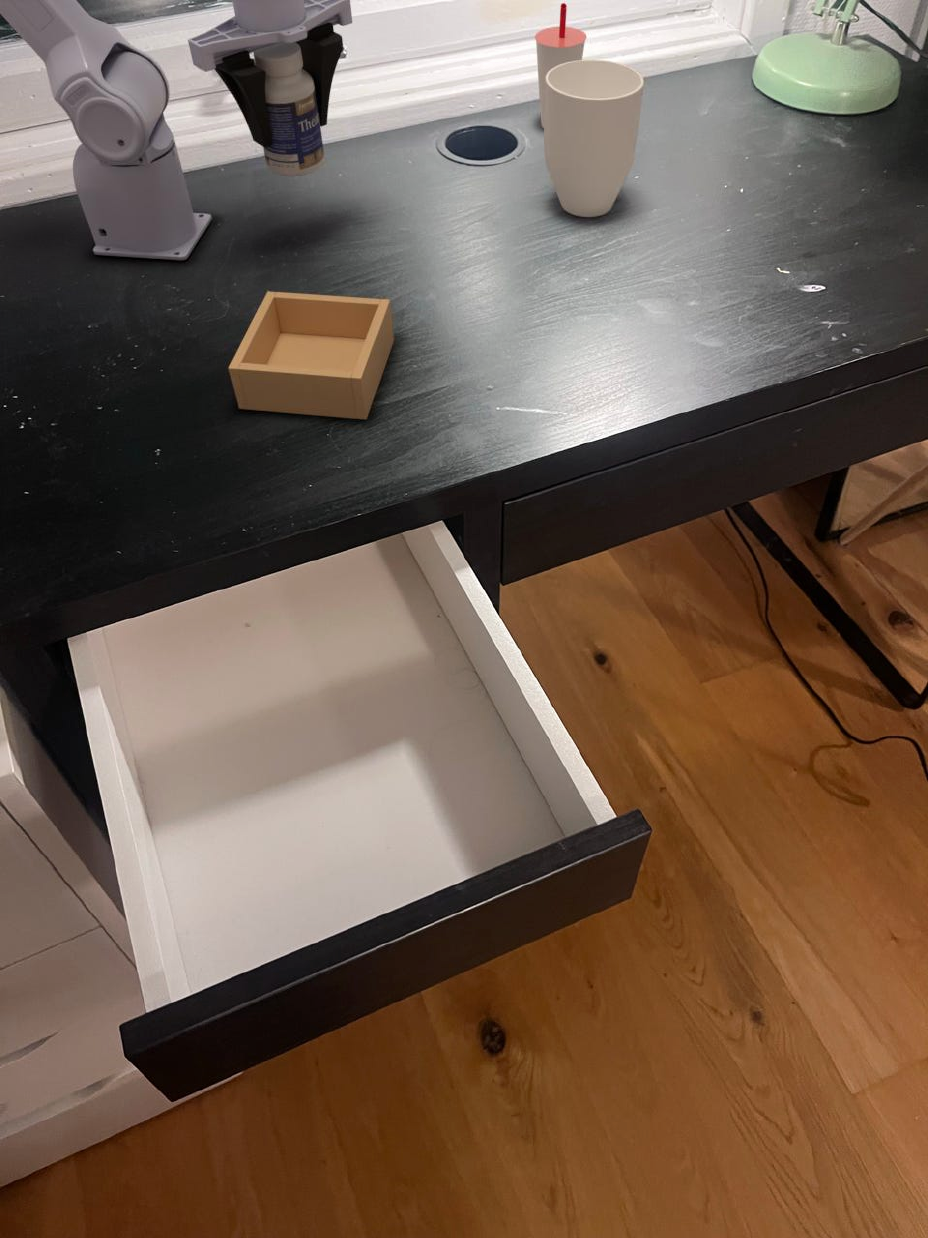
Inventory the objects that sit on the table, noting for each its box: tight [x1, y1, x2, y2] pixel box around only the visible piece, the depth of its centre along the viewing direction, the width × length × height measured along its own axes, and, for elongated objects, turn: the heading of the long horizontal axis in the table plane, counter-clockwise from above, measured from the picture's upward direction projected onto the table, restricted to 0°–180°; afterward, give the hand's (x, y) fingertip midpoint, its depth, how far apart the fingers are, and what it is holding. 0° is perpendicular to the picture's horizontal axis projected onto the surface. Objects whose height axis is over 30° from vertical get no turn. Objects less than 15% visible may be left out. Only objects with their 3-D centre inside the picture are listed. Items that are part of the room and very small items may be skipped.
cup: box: [534, 2, 587, 129], centre depth 102 cm, size 5×5×12 cm
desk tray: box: [228, 290, 395, 421], centre depth 78 cm, size 11×11×4 cm
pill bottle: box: [253, 42, 325, 178], centre depth 84 cm, size 5×5×10 cm
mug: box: [543, 59, 645, 218], centre depth 92 cm, size 12×9×12 cm
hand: (290, 132), depth 86 cm, fingers closed on pill bottle, 5 cm apart
